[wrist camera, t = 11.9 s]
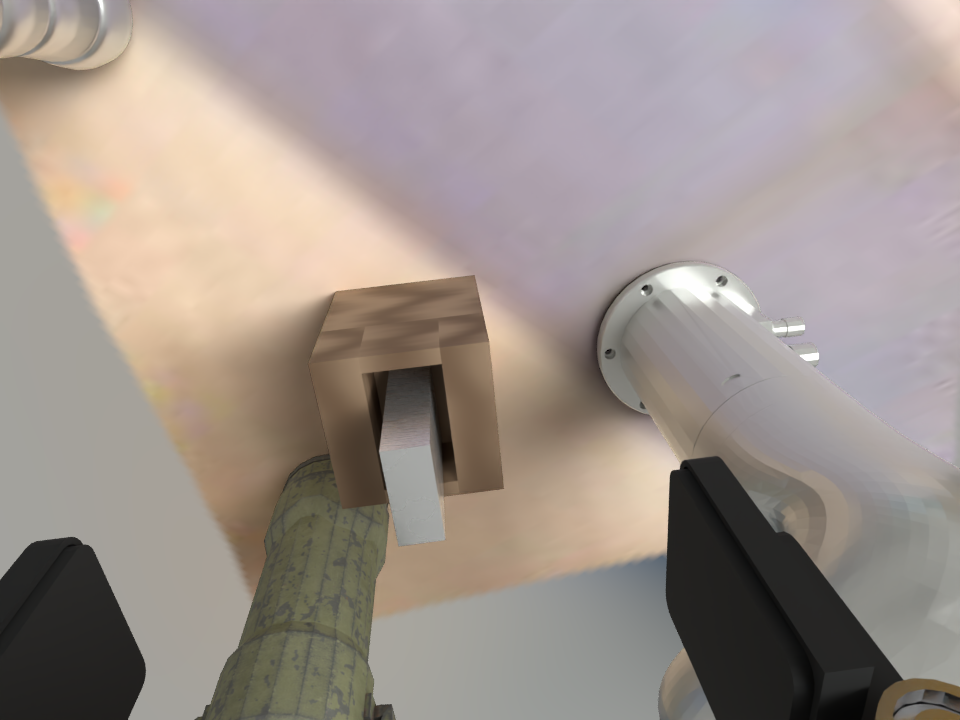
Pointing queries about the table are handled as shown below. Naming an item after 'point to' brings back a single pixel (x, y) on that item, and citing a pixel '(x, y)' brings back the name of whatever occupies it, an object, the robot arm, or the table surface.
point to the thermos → (309, 611)
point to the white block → (413, 456)
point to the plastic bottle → (65, 31)
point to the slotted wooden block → (398, 345)
